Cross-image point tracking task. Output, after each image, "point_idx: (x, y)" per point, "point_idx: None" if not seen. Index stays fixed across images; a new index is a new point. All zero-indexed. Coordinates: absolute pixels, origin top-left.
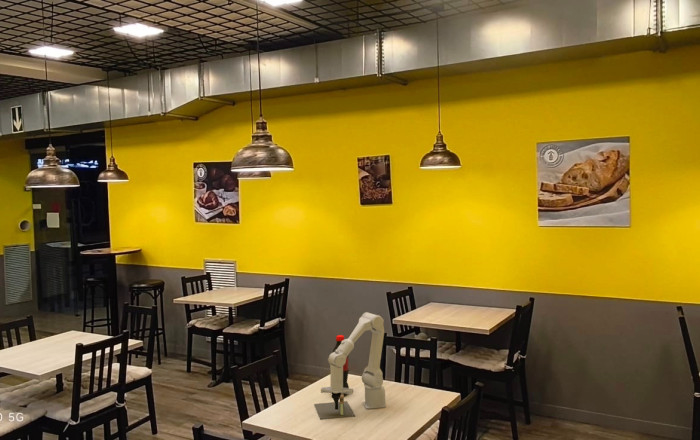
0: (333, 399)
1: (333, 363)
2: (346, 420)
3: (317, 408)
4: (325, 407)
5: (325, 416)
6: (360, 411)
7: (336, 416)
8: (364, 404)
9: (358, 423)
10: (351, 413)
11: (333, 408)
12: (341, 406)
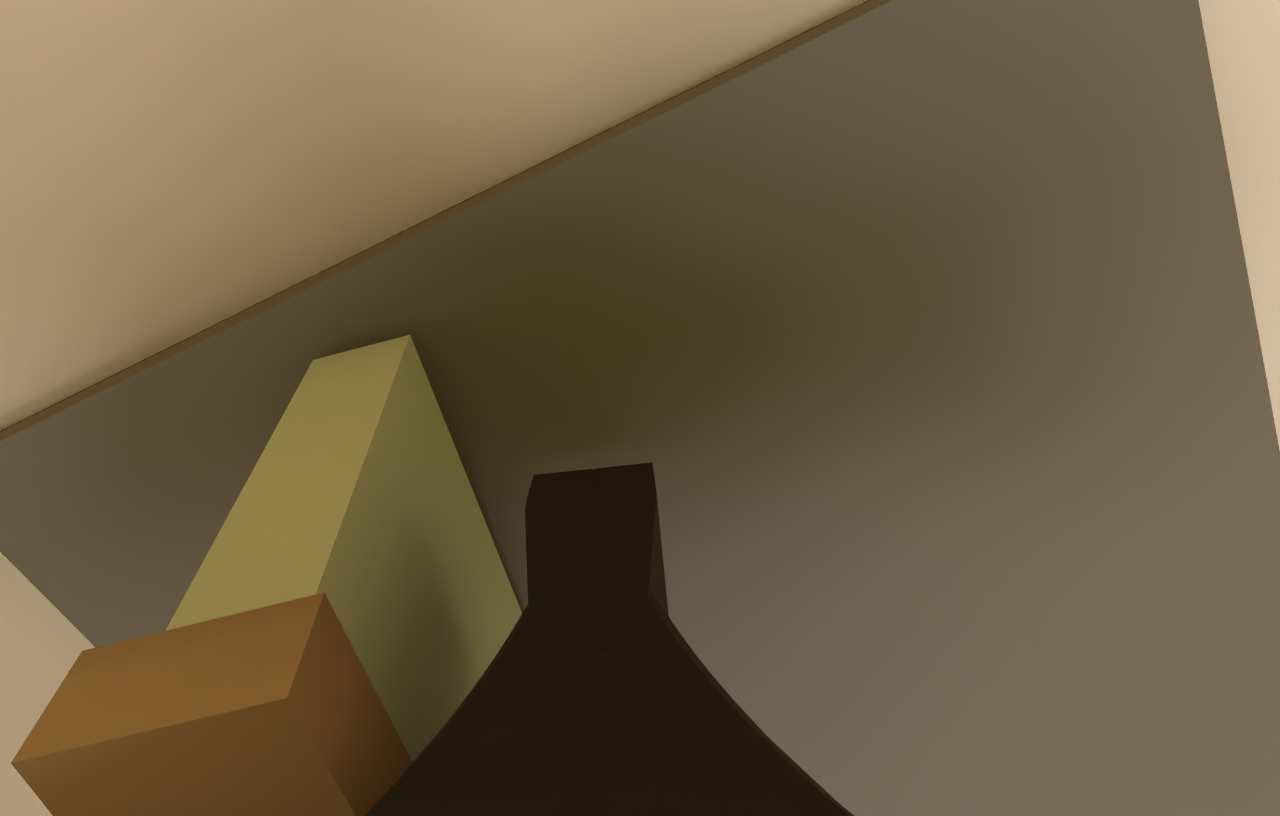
0: (791, 768)
1: None
2: (59, 31)
3: (1278, 667)
4: (1043, 767)
5: (970, 130)
6: (5, 791)
7: (543, 226)
8: None
9: None
10: (128, 578)
11: (803, 760)
12: (286, 537)
